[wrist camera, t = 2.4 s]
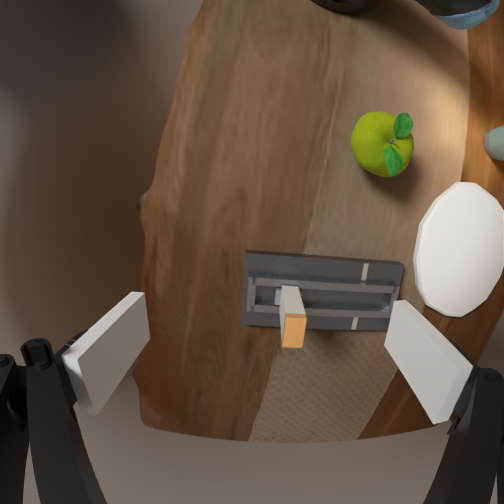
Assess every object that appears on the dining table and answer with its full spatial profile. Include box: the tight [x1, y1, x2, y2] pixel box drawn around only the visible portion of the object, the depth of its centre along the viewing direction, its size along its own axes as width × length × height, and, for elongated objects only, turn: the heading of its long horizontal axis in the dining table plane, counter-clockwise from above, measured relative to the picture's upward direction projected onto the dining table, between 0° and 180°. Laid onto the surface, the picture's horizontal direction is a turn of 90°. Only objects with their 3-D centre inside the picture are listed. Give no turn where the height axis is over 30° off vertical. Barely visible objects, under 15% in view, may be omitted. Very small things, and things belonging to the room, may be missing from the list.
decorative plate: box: [413, 182, 504, 317], centre depth 43 cm, size 25×4×25 cm
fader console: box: [241, 250, 404, 330], centre depth 46 cm, size 26×12×4 cm, turn 86°
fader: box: [274, 286, 307, 348], centre depth 39 cm, size 4×4×12 cm
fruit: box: [351, 112, 414, 177], centre depth 37 cm, size 9×9×10 cm
